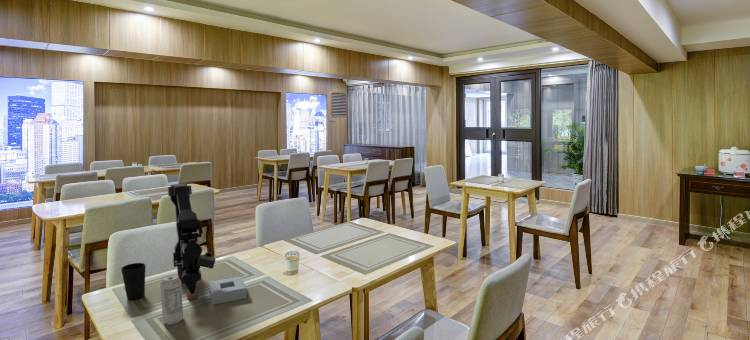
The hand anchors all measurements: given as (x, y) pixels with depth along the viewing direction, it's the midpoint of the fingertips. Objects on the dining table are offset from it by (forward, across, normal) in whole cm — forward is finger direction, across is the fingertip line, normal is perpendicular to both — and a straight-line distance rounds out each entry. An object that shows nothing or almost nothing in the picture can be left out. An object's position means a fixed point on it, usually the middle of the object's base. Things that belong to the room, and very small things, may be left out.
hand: (192, 291), depth 149 cm
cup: (+3, +10, +19) cm, 22 cm away
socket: (+2, -3, -12) cm, 13 cm away
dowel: (+2, 0, 0) cm, 2 cm away
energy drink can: (+3, -16, +6) cm, 17 cm away
